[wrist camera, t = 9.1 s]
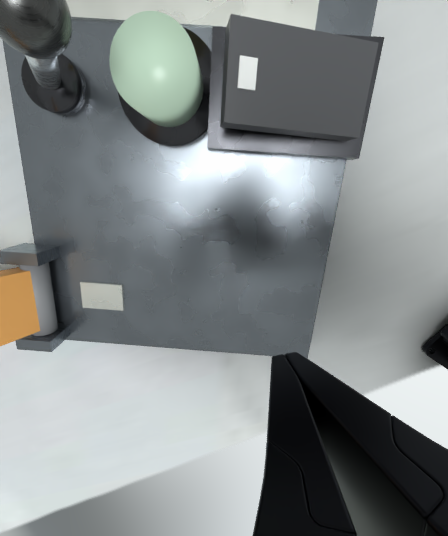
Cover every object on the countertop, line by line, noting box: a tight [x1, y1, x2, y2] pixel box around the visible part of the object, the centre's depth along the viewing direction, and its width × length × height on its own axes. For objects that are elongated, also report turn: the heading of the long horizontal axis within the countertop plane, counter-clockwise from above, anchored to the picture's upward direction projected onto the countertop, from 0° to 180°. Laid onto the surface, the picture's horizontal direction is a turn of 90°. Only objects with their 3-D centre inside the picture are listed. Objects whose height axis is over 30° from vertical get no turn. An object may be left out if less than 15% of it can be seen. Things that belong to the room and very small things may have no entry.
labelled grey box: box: [220, 14, 378, 141], centre depth 13 cm, size 7×4×1 cm, turn 86°
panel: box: [0, 0, 384, 358], centre depth 16 cm, size 21×22×4 cm
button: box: [110, 11, 203, 127], centre depth 12 cm, size 4×4×2 cm
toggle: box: [0, 0, 72, 90], centre depth 10 cm, size 2×2×8 cm
